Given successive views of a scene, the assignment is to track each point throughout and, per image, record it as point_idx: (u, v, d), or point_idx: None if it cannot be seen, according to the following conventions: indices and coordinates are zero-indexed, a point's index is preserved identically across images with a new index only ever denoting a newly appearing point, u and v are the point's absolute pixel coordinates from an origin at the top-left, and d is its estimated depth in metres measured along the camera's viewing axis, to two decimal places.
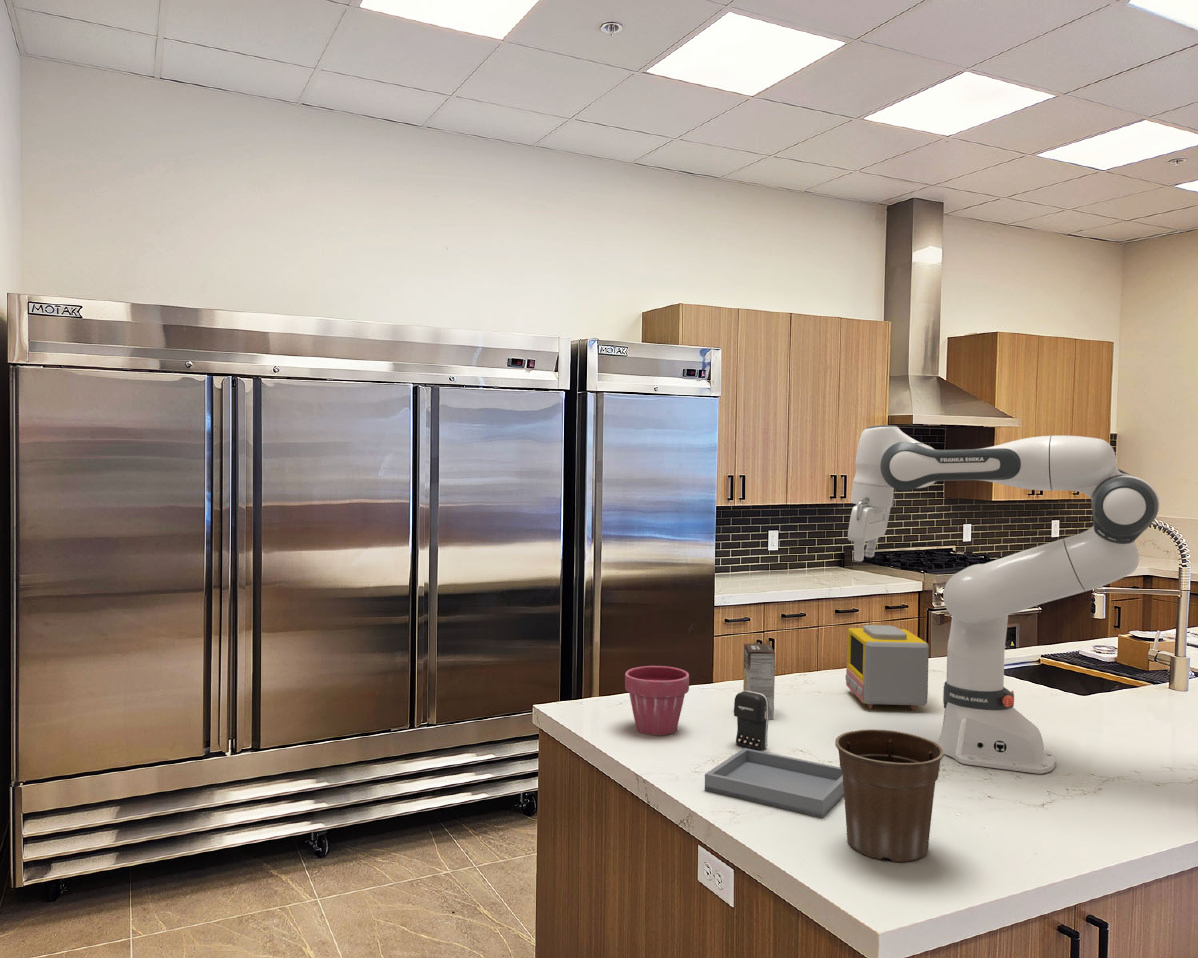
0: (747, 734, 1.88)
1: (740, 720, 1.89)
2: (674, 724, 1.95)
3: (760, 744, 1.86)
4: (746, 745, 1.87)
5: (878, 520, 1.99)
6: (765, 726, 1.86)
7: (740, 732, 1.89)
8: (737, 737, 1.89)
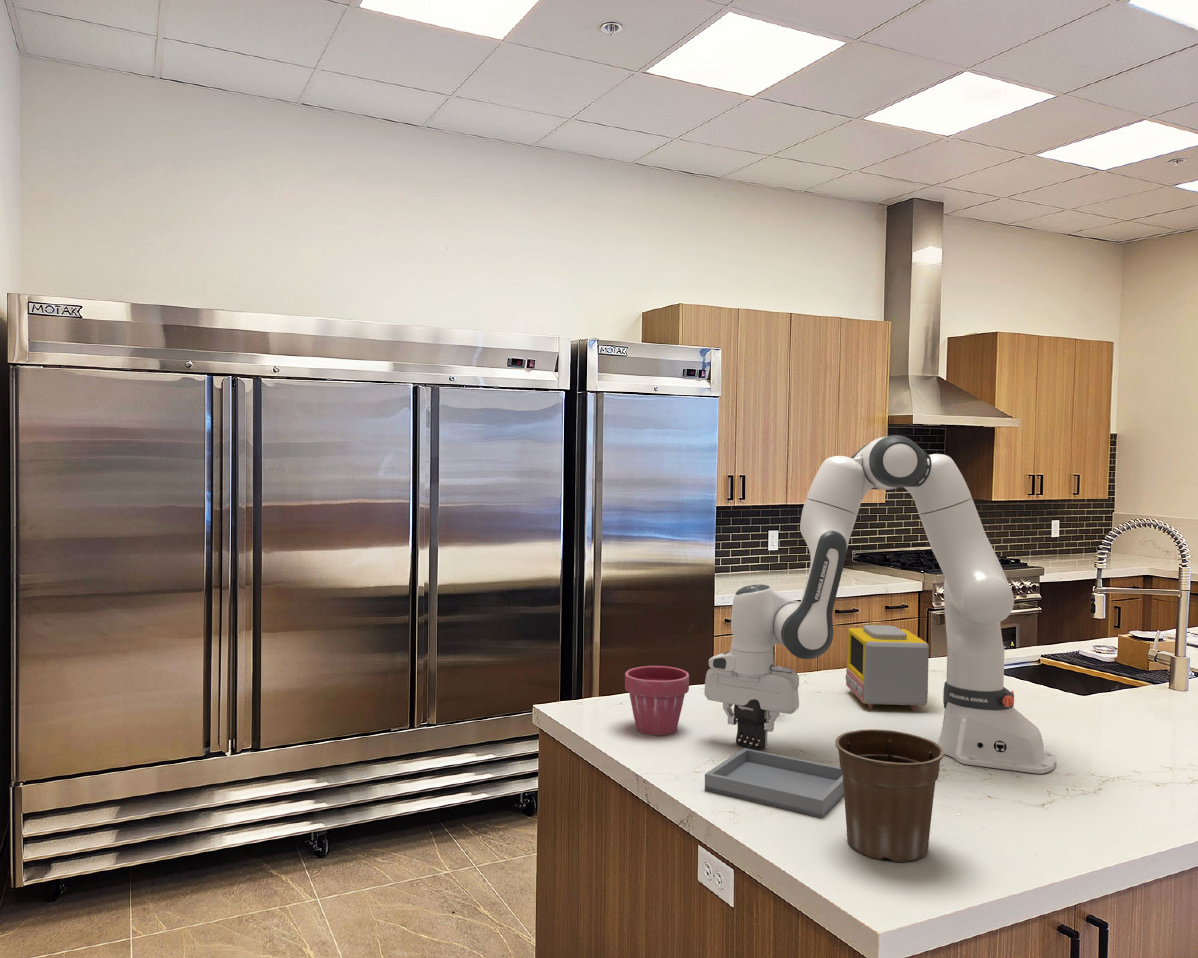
0: (747, 734, 1.88)
1: (740, 720, 1.89)
2: (674, 724, 1.95)
3: (760, 744, 1.86)
4: (746, 745, 1.87)
5: None
6: None
7: (740, 732, 1.89)
8: (737, 737, 1.89)
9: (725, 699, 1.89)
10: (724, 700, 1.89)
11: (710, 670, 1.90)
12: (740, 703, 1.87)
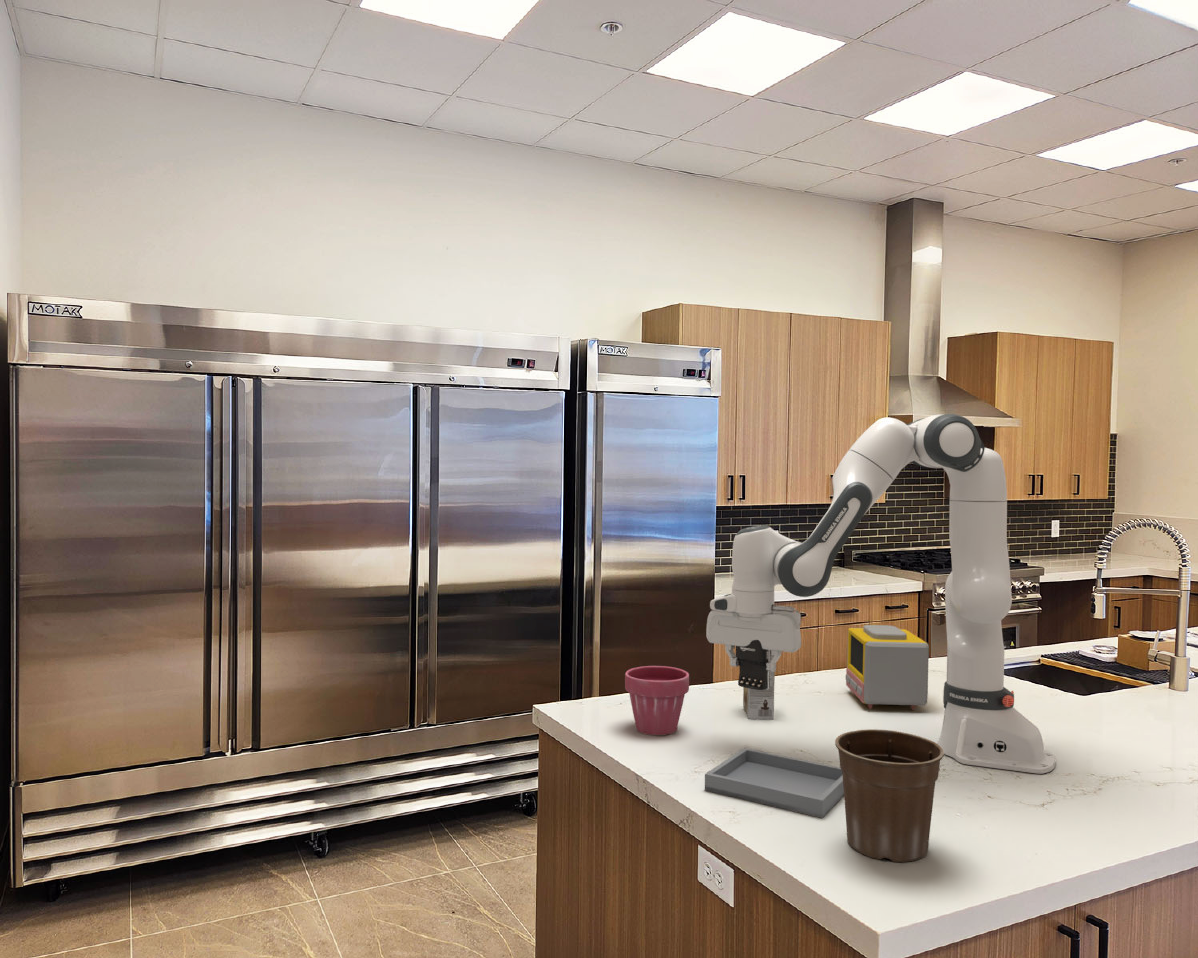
0: (749, 676, 1.88)
1: (742, 662, 1.89)
2: (674, 724, 1.95)
3: (762, 684, 1.85)
4: (748, 686, 1.87)
5: None
6: None
7: (742, 674, 1.89)
8: (739, 679, 1.89)
9: (727, 641, 1.88)
10: (726, 642, 1.89)
11: (711, 612, 1.89)
12: (742, 644, 1.87)
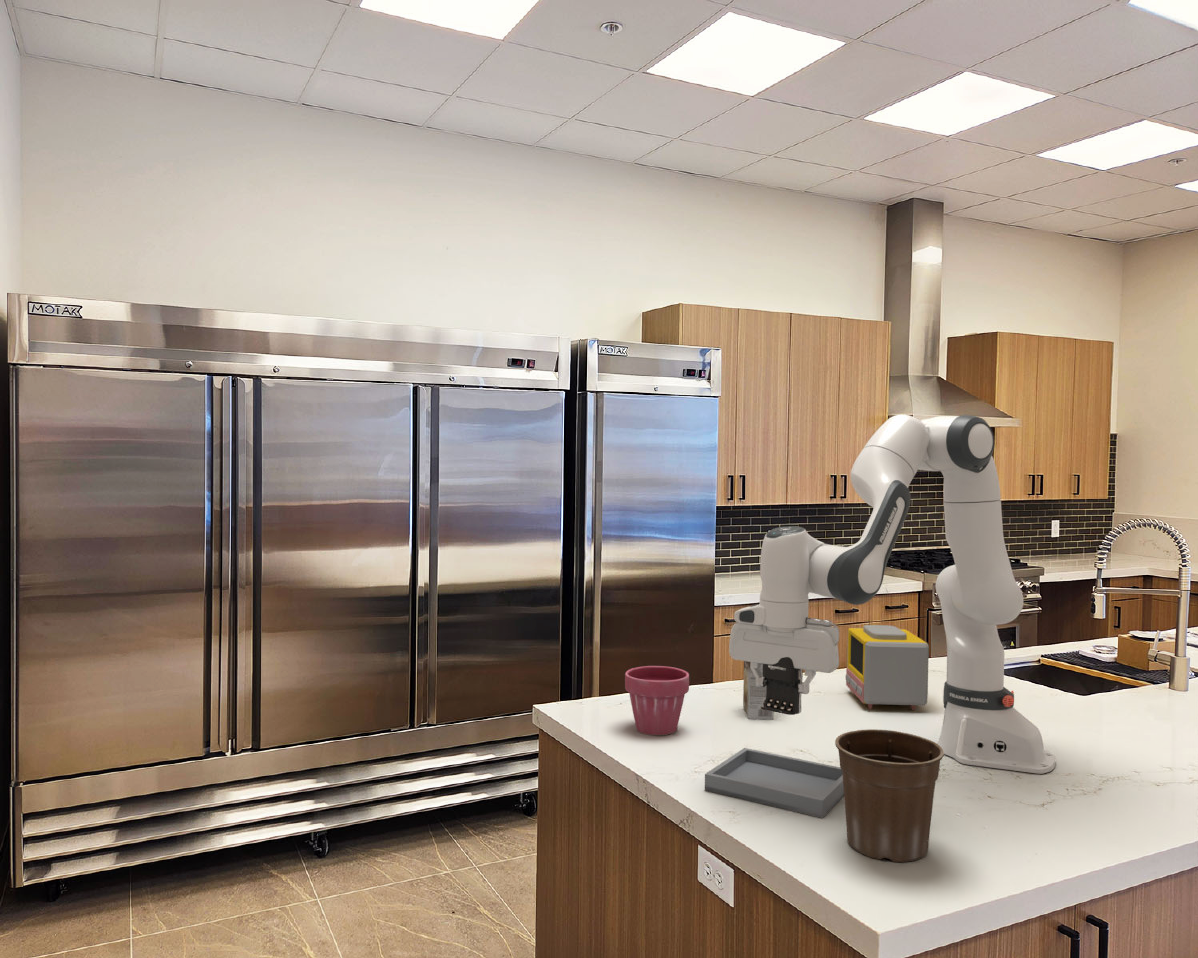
0: (778, 698, 1.65)
1: (770, 682, 1.65)
2: (674, 724, 1.95)
3: (793, 709, 1.62)
4: (777, 710, 1.63)
5: None
6: None
7: (769, 696, 1.66)
8: (766, 701, 1.66)
9: (753, 658, 1.65)
10: (752, 659, 1.65)
11: (736, 625, 1.66)
12: (771, 662, 1.63)
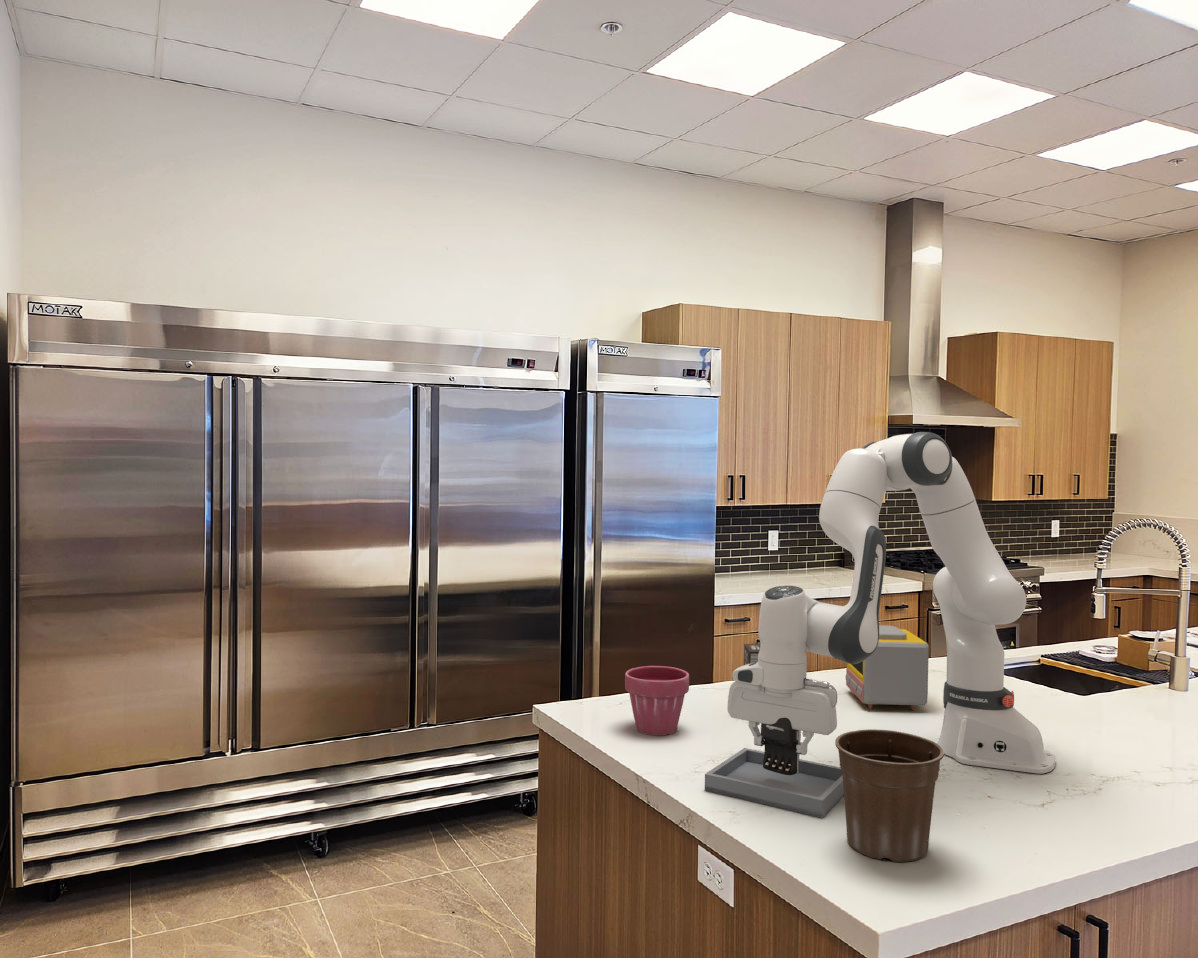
0: (776, 757, 1.65)
1: (768, 741, 1.66)
2: (674, 724, 1.95)
3: (791, 769, 1.62)
4: (775, 770, 1.63)
5: None
6: None
7: (768, 755, 1.66)
8: (764, 760, 1.66)
9: (751, 717, 1.65)
10: (750, 718, 1.65)
11: (734, 684, 1.66)
12: (769, 722, 1.63)
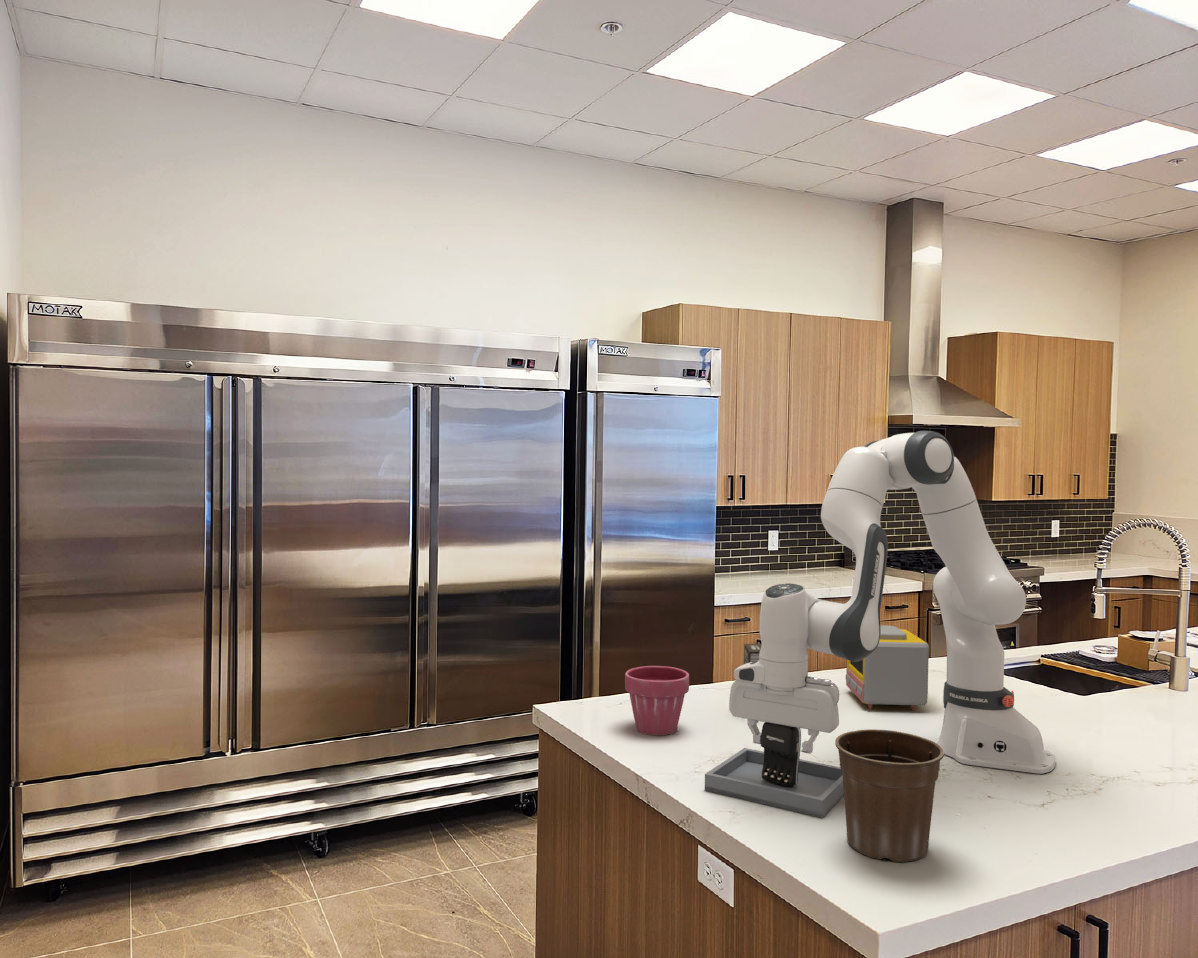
0: (775, 768, 1.65)
1: (767, 751, 1.66)
2: (674, 724, 1.95)
3: (790, 780, 1.62)
4: (773, 781, 1.64)
5: None
6: (796, 760, 1.63)
7: (767, 765, 1.66)
8: (763, 770, 1.66)
9: (753, 715, 1.65)
10: (752, 717, 1.65)
11: (736, 682, 1.66)
12: (771, 720, 1.63)
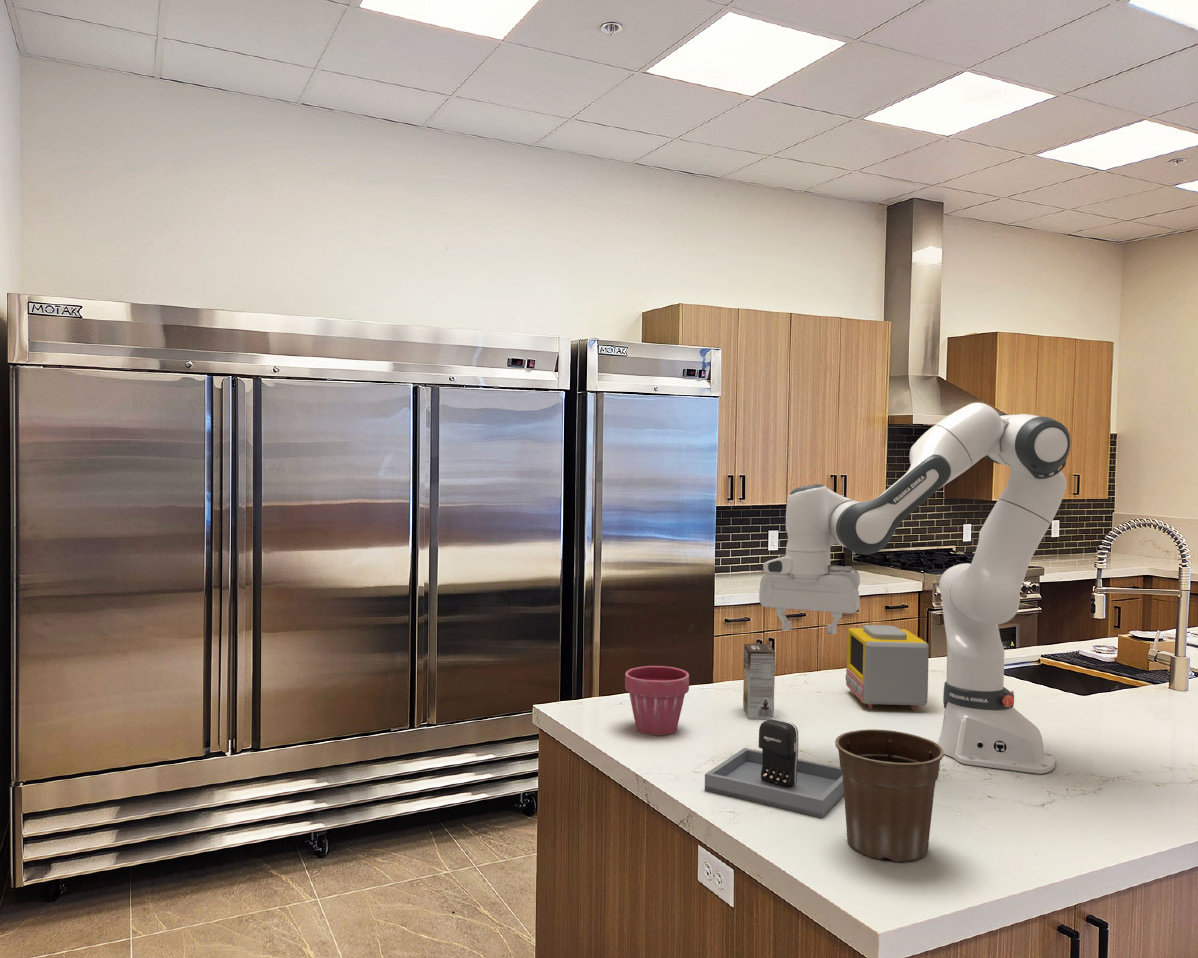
0: (774, 768, 1.65)
1: (766, 752, 1.66)
2: (674, 724, 1.95)
3: (789, 780, 1.62)
4: (772, 781, 1.64)
5: None
6: (794, 760, 1.63)
7: (766, 766, 1.66)
8: (762, 771, 1.66)
9: (782, 604, 1.83)
10: (780, 605, 1.83)
11: (765, 575, 1.84)
12: (798, 607, 1.81)
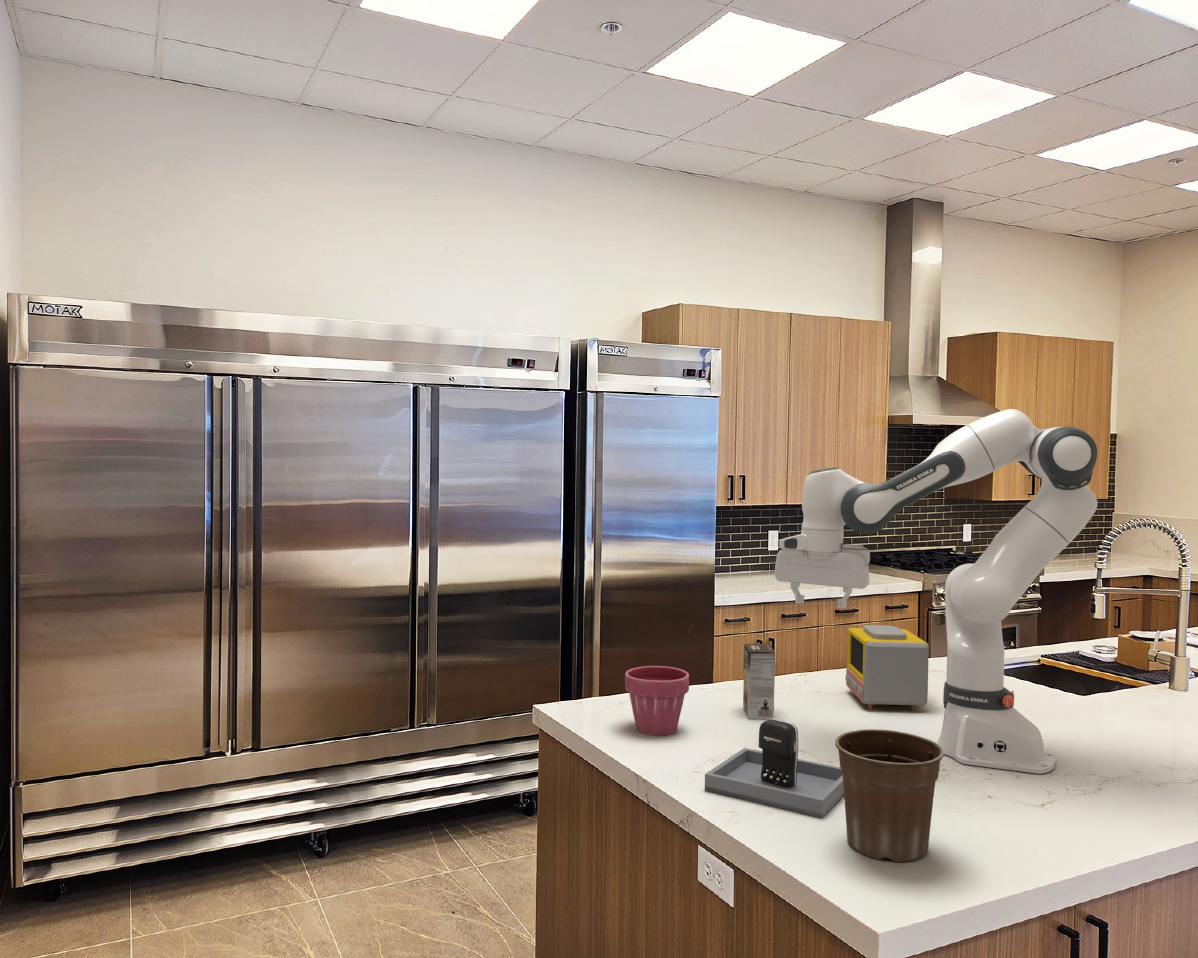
0: (774, 768, 1.65)
1: (766, 752, 1.66)
2: (674, 724, 1.95)
3: (789, 780, 1.62)
4: (772, 781, 1.64)
5: None
6: (794, 760, 1.63)
7: (766, 766, 1.66)
8: (762, 771, 1.66)
9: (796, 579, 1.95)
10: (795, 580, 1.95)
11: (781, 551, 1.96)
12: (811, 582, 1.93)
